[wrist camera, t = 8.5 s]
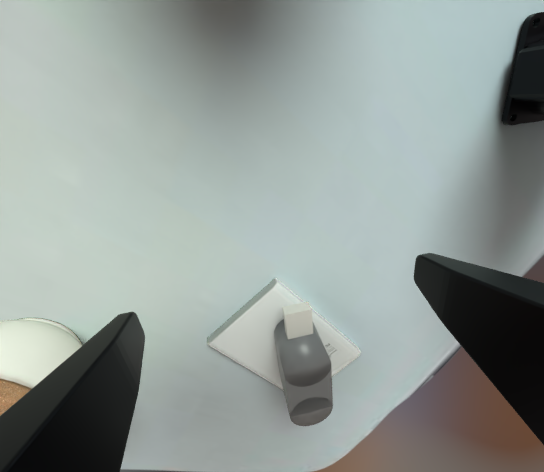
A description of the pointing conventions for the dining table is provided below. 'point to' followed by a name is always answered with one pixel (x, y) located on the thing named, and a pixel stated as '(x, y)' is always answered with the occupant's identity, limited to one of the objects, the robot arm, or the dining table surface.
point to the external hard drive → (260, 334)
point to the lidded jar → (30, 355)
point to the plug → (303, 366)
